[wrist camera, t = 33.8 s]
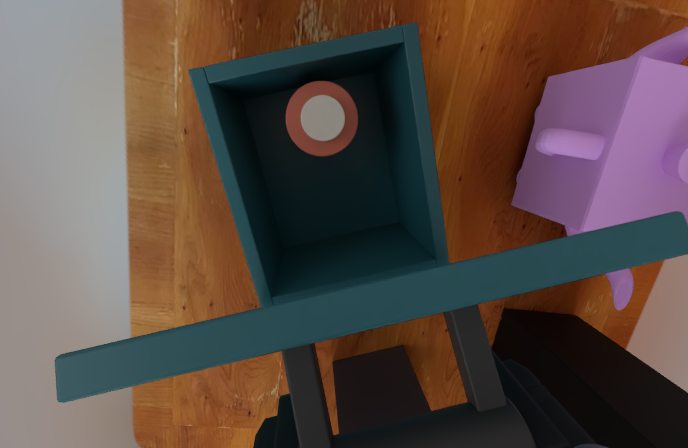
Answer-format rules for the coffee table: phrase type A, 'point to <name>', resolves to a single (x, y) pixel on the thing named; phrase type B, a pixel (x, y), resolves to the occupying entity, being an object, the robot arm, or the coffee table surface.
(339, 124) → the lotion bottle
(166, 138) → the coffee table surface
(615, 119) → the teapot
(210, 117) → the wipes case
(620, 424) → the tissue box
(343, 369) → the stand
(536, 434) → the robot arm
